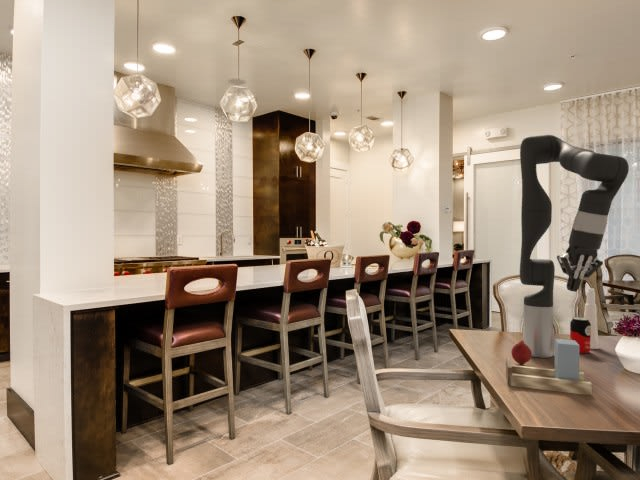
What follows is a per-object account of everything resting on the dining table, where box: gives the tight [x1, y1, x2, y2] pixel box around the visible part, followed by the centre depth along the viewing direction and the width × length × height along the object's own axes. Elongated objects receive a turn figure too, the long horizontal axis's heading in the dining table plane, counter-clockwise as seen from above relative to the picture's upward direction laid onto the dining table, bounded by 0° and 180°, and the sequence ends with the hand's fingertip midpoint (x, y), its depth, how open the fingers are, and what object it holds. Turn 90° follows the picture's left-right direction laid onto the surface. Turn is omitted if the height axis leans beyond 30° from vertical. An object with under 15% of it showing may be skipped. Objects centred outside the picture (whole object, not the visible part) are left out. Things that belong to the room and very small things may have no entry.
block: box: [553, 338, 580, 381], centre depth 120 cm, size 5×6×11 cm
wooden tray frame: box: [505, 357, 593, 396], centre depth 122 cm, size 20×10×5 cm, turn 70°
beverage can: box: [569, 316, 591, 354], centre depth 158 cm, size 6×6×12 cm
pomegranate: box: [510, 339, 533, 366], centre depth 140 cm, size 6×6×8 cm
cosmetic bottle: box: [583, 287, 601, 350], centre depth 165 cm, size 6×6×22 cm
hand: (571, 290), depth 122 cm, fingers closed
